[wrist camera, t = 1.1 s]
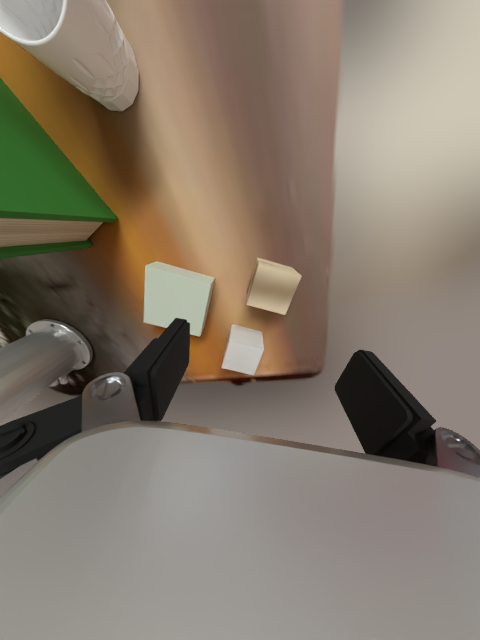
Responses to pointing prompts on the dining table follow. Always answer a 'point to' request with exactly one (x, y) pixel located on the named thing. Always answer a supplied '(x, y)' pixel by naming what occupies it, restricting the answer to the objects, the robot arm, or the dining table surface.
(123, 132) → the dining table surface
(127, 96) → the white cup
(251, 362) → the grey cube
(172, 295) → the base block
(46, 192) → the hardback book
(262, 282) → the maple cube
